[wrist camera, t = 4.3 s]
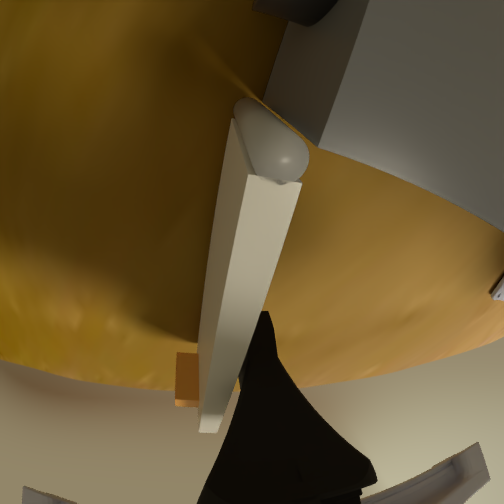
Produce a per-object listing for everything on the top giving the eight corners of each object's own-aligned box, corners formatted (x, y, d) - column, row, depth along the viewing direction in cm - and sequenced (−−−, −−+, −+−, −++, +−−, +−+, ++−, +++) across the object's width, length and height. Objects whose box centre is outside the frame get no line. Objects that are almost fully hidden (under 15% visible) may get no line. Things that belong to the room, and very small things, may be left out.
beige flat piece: (212, 351, 14) (216, 432, 10) (177, 349, 14) (175, 431, 10) (264, 100, 7) (315, 138, 4) (200, 90, 7) (181, 115, 3)
